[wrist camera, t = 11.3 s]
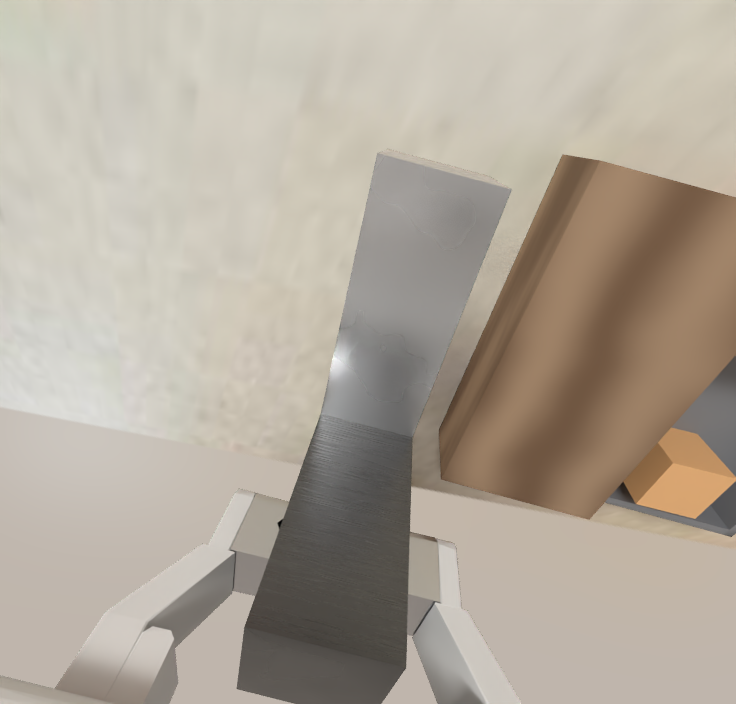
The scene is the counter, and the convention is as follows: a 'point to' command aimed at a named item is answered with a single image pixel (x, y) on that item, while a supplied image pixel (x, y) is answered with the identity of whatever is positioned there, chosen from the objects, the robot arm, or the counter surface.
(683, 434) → the block
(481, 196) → the grey stick with cube
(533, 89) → the counter surface
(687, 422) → the tray
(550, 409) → the ledge
